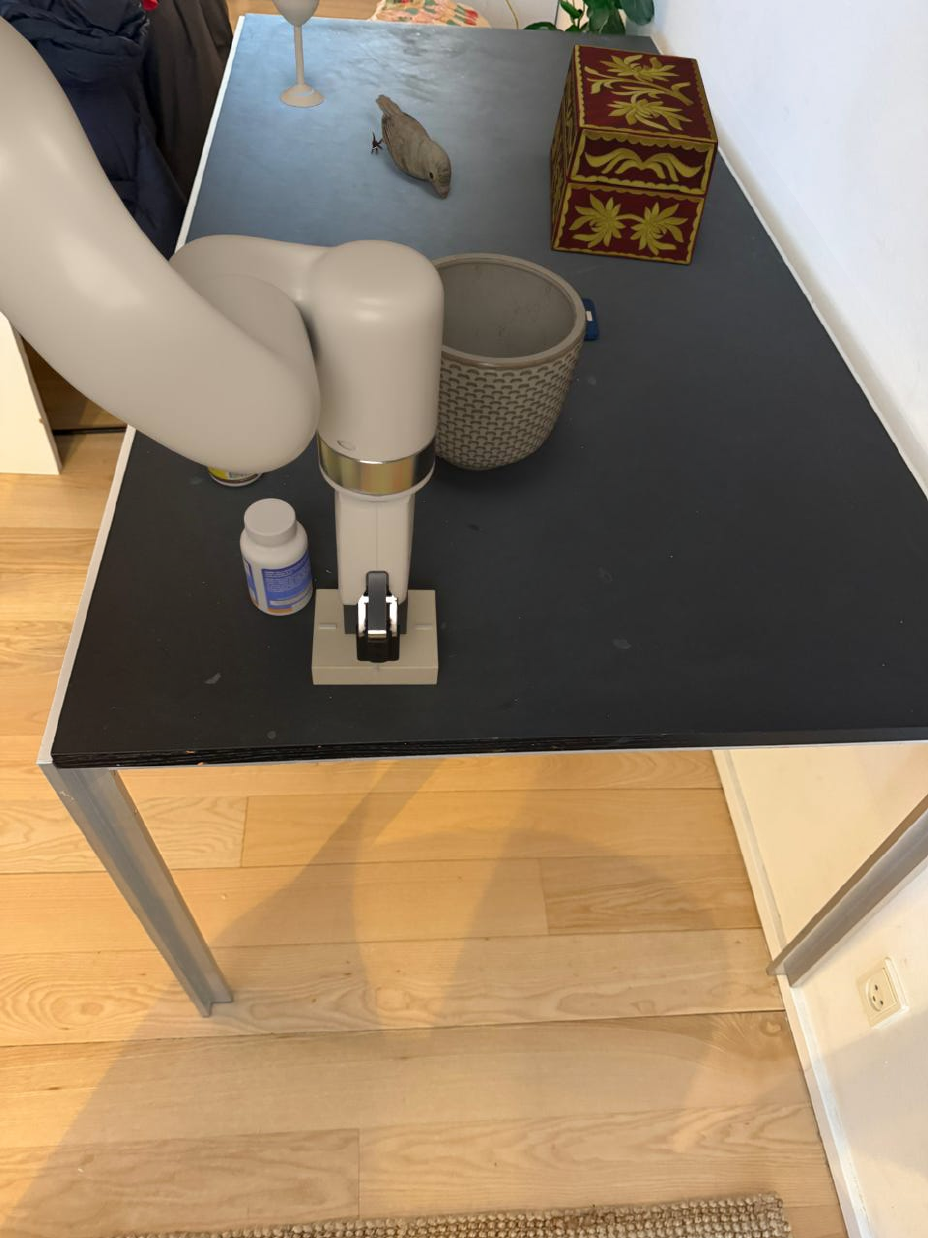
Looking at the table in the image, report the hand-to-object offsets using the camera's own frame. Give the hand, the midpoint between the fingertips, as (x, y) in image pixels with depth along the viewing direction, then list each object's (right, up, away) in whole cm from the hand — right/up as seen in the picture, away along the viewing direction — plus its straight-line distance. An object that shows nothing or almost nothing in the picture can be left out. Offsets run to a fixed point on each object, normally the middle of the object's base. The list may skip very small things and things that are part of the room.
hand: (378, 607), depth 69 cm
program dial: (0, -2, +2) cm, 3 cm away
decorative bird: (-1, +62, +53) cm, 82 cm away
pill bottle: (-9, +1, +7) cm, 11 cm away
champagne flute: (-18, +80, +65) cm, 104 cm away
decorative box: (+28, +57, +53) cm, 82 cm away
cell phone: (+16, +35, +34) cm, 51 cm away
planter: (+8, +17, +20) cm, 28 cm away
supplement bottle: (-15, +14, +15) cm, 25 cm away
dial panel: (-1, -3, +4) cm, 5 cm away
